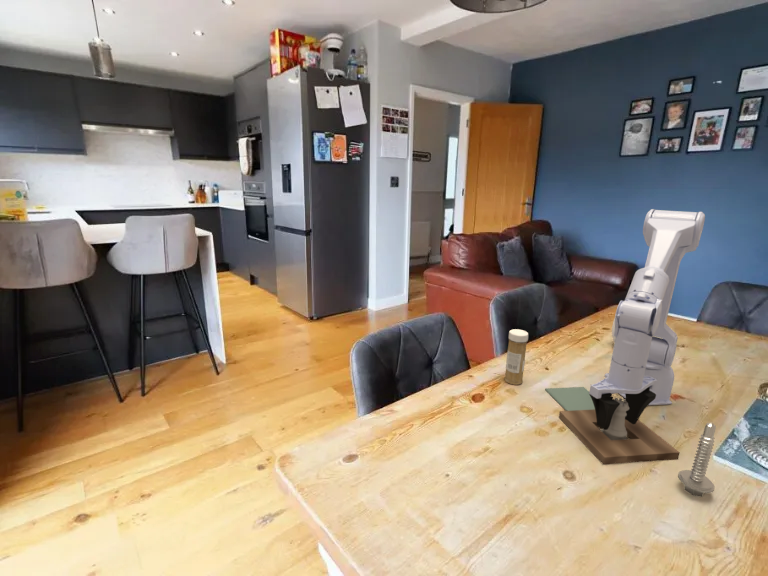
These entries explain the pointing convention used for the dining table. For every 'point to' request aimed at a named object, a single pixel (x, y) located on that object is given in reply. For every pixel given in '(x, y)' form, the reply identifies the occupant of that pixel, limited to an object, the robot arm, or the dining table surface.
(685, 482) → the screw
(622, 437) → the rook chess piece
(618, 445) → the socket board
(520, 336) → the sprinkles bottle
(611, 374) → the robot arm
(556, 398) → the rubber mat
